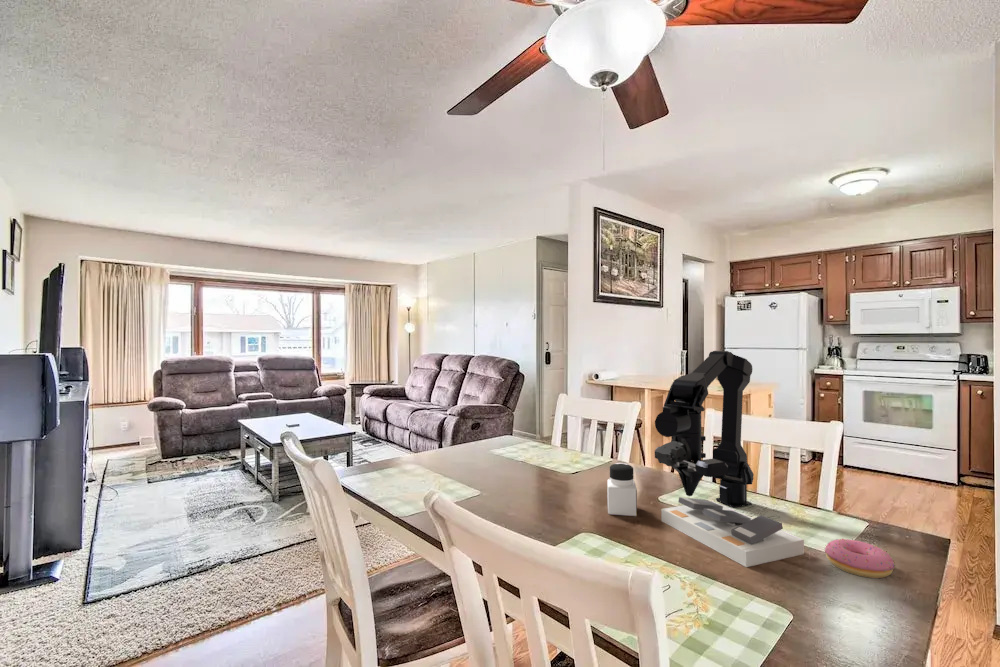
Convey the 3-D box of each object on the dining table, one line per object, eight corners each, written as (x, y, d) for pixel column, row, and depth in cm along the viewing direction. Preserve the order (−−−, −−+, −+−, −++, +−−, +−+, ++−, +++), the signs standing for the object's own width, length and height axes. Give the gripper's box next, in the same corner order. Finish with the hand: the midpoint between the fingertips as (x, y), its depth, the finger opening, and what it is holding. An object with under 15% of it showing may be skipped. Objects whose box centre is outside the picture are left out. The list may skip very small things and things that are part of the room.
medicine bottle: (637, 516, 119) (636, 469, 119) (608, 514, 121) (607, 467, 121) (634, 506, 126) (634, 462, 126) (607, 505, 128) (607, 460, 128)
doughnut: (822, 550, 100) (822, 530, 100) (888, 562, 95) (888, 542, 95) (827, 572, 91) (827, 551, 91) (901, 587, 85) (900, 564, 85)
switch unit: (712, 512, 122) (711, 498, 122) (803, 554, 98) (803, 536, 98) (661, 521, 116) (661, 506, 116) (746, 567, 93) (746, 548, 93)
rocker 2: (762, 520, 104) (761, 514, 104) (782, 528, 99) (781, 522, 99) (731, 535, 101) (730, 529, 101) (751, 544, 96) (750, 538, 96)
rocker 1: (706, 504, 119) (707, 499, 119) (722, 511, 114) (722, 506, 114) (678, 502, 116) (679, 496, 116) (693, 509, 111) (694, 503, 111)
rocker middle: (732, 515, 111) (732, 510, 111) (750, 523, 106) (750, 517, 107) (702, 513, 108) (703, 507, 108) (719, 521, 103) (720, 515, 103)
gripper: (637, 426, 120) (637, 488, 120) (690, 441, 102) (690, 513, 102) (672, 423, 124) (672, 483, 123) (729, 437, 106) (730, 507, 106)
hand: (689, 495), depth 114 cm, fingers closed
